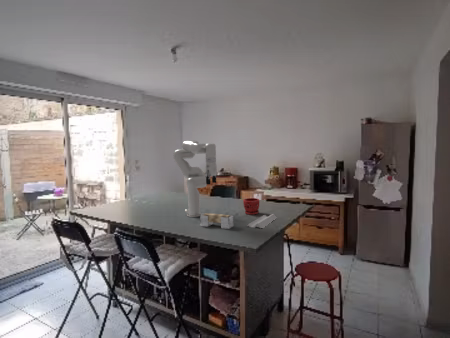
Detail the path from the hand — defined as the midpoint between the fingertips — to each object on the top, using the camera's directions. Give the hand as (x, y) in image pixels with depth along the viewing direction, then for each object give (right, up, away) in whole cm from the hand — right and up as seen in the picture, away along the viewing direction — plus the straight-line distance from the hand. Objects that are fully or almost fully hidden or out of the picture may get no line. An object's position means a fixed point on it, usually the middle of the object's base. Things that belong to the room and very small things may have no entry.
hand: (211, 183), depth 207 cm
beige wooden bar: (+4, -26, -12) cm, 29 cm away
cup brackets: (+4, -29, -12) cm, 32 cm away
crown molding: (+38, -29, -4) cm, 48 cm away
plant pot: (+32, -26, +24) cm, 48 cm away
